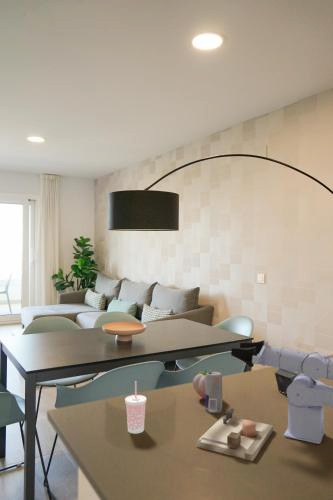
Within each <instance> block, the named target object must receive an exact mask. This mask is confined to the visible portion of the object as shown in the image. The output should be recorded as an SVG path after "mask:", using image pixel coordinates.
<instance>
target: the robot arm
mask: <svg viewBox="0 0 333 500" xmlns="http://www.w3.org/2000/svg"><path fill="white" fill-rule="evenodd" d="M230 350H231V351H230V356H232V357H234V358H236V359H238V360H240V361H242V362H244V363H245V364H246V365H247V366H248V367H250V368H253V367H254V365H261V366H263V367H264V366H266V367H271V368H275V369H278V368H280V369H284V370H289V371H293V372H299V374H300V375H298V376H296V377H295V379H294V381H293V382H292V383H291V384H290V385H289V386H288V388H287V391H286V394H287V395H286V394H285V395H286V397H287V429H286V430H285V432H284V434H283V437H285V438H290V439H293V440H294V439H295V440H300V441H304V442H308V443H313V444H317V445H320V444H321V442H322V440H323V437H324V434H325V408H324V407H325V406H326V407H330V408H333V386H330V385H327V384H325V383H324V382H323V381H320V379H321V378H324V379H325V380H330V381H333V357H329V355H326V354H324V355H322V354H320V353H319V352H318V351H317V352H316V351H313V352H310V353H308V352H307V353H306V352H301V351H298V350H293V349H287V348H283V347H278V346H273V345H269V341H268V340H265V339H263V340H261V341H253V342H249V341H248V342H247V341H244V342H240V344H239V347H231V349H230Z"/></svg>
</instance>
